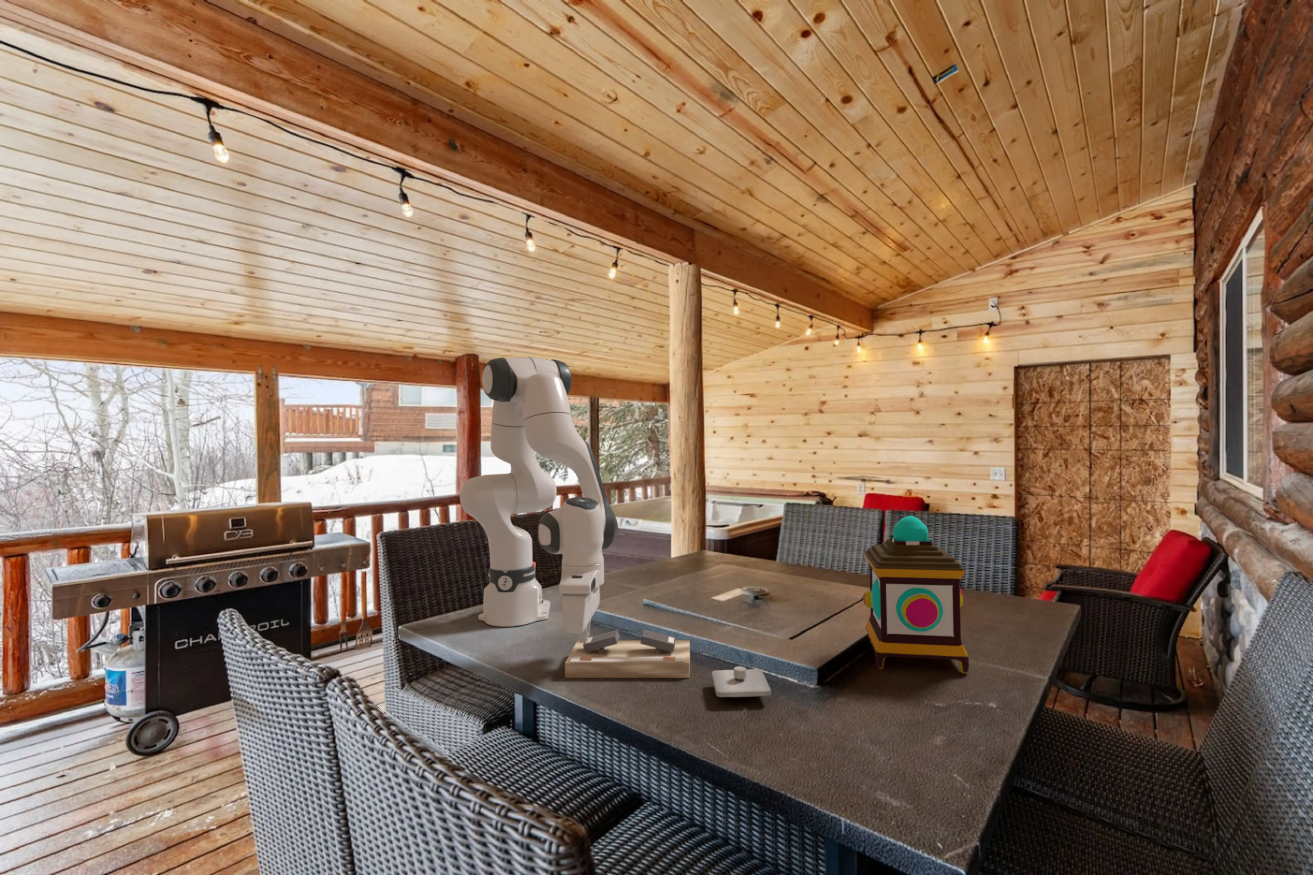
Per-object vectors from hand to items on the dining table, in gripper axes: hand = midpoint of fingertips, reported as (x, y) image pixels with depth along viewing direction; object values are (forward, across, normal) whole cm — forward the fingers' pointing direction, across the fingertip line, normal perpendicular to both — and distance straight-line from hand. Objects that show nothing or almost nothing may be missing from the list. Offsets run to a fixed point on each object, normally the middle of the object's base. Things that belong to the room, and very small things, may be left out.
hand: (583, 640), depth 127 cm
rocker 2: (0, 0, +16) cm, 16 cm away
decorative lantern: (+5, -6, +70) cm, 70 cm away
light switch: (+5, +13, +32) cm, 35 cm away
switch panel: (+5, 0, +10) cm, 11 cm away
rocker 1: (0, 0, +4) cm, 4 cm away
